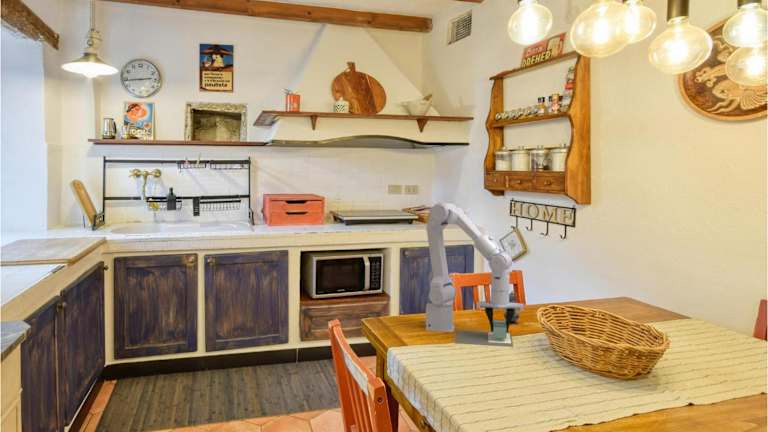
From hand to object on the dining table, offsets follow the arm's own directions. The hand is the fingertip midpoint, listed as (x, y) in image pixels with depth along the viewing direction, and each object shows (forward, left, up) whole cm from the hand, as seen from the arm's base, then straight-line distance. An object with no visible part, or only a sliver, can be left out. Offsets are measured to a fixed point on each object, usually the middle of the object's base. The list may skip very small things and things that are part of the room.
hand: (499, 331), depth 161 cm
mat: (-5, -1, -3) cm, 6 cm away
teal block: (0, 0, -1) cm, 1 cm away
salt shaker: (+5, +20, -3) cm, 21 cm away
